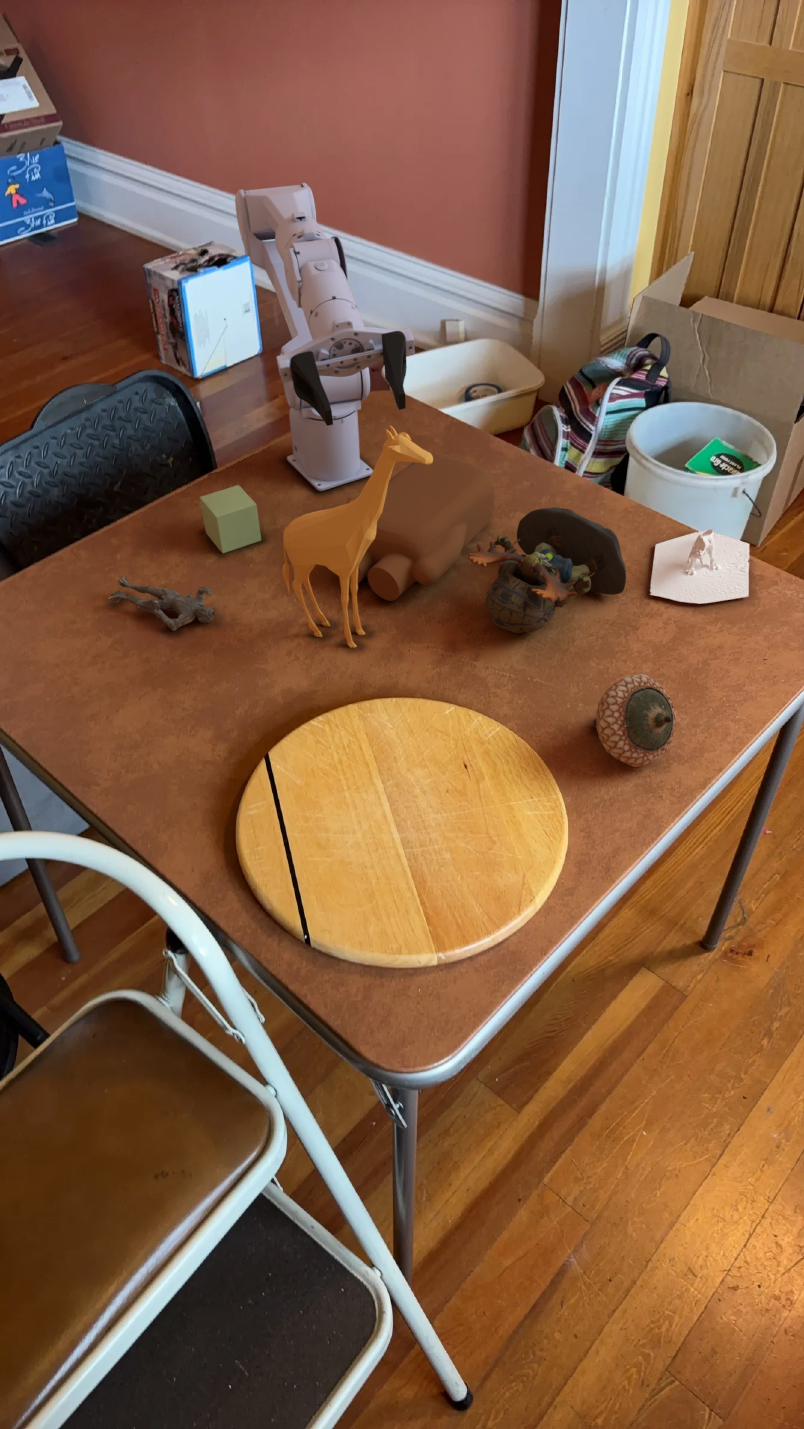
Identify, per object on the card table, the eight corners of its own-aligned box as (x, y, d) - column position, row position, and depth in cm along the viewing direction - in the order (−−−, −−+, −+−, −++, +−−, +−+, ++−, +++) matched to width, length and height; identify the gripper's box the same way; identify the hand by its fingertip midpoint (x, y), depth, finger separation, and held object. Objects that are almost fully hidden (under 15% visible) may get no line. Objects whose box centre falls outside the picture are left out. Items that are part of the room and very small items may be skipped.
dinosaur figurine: (673, 543, 119) (678, 491, 116) (775, 562, 113) (784, 509, 110) (622, 593, 109) (626, 538, 106) (731, 617, 103) (740, 560, 100)
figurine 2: (652, 534, 104) (568, 593, 92) (626, 610, 110) (544, 674, 98) (541, 485, 110) (448, 533, 98) (522, 559, 116) (433, 613, 104)
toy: (420, 623, 107) (517, 528, 117) (418, 566, 101) (519, 472, 112) (315, 576, 113) (416, 491, 124) (307, 521, 107) (413, 436, 118)
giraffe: (439, 645, 102) (441, 423, 85) (423, 672, 100) (422, 447, 82) (298, 609, 107) (273, 391, 90) (278, 633, 104) (249, 413, 87)
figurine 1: (124, 558, 108) (216, 575, 104) (139, 580, 111) (229, 598, 107) (96, 602, 106) (189, 622, 101) (113, 624, 109) (204, 644, 105)
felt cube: (205, 533, 118) (199, 496, 114) (244, 520, 120) (238, 484, 116) (222, 553, 115) (216, 517, 111) (261, 540, 117) (256, 504, 113)
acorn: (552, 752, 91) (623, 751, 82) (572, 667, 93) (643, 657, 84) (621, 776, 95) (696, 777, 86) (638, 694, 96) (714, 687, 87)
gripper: (263, 304, 103) (291, 395, 96) (397, 276, 104) (434, 363, 98) (272, 358, 109) (299, 446, 103) (399, 331, 110) (434, 416, 104)
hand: (365, 409), depth 101 cm, fingers open, 7 cm apart
